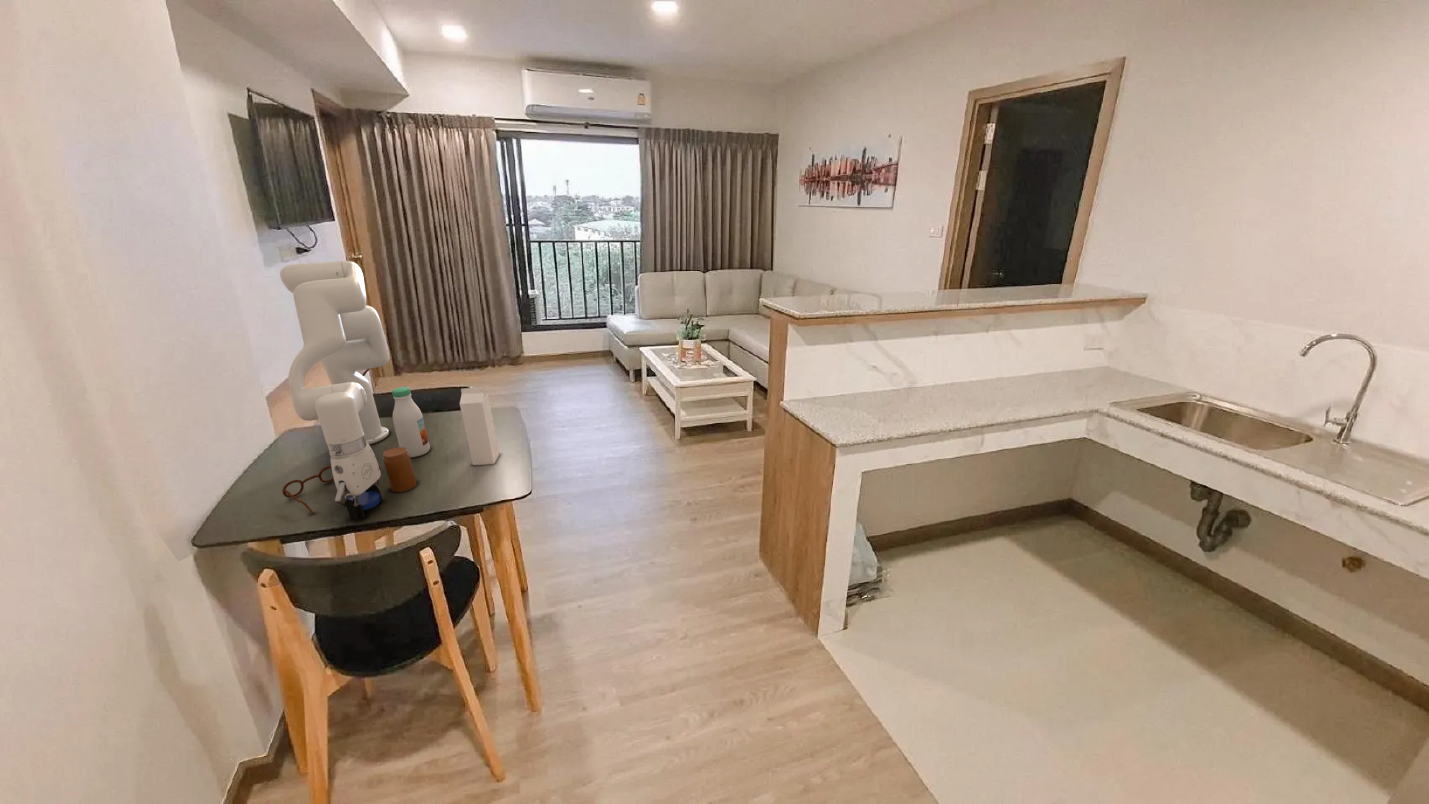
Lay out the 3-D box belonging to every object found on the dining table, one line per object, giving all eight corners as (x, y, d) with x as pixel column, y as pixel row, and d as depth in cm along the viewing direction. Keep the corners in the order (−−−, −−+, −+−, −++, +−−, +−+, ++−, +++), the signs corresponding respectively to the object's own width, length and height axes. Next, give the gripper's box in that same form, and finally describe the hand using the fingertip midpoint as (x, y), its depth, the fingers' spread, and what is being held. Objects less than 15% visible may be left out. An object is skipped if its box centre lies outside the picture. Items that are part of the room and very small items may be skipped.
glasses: (339, 478, 151) (333, 462, 149) (366, 490, 145) (361, 473, 143) (285, 501, 140) (278, 484, 139) (311, 515, 134) (305, 497, 132)
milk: (478, 455, 162) (463, 384, 154) (500, 454, 162) (486, 383, 154) (472, 465, 156) (456, 392, 148) (494, 464, 157) (480, 391, 148)
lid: (370, 511, 132) (368, 506, 131) (342, 511, 132) (341, 505, 132) (386, 496, 138) (385, 491, 138) (359, 496, 138) (358, 491, 138)
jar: (387, 487, 146) (377, 453, 142) (409, 478, 150) (400, 444, 146) (398, 494, 142) (388, 459, 139) (421, 484, 147) (412, 450, 143)
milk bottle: (418, 459, 160) (402, 394, 153) (395, 457, 162) (378, 393, 154) (436, 447, 167) (421, 385, 160) (413, 445, 169) (398, 383, 161)
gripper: (339, 462, 121) (360, 531, 128) (384, 429, 137) (401, 491, 144) (305, 462, 121) (328, 531, 128) (354, 429, 137) (373, 492, 144)
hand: (367, 510), depth 136 cm, fingers closed on lid, 6 cm apart
